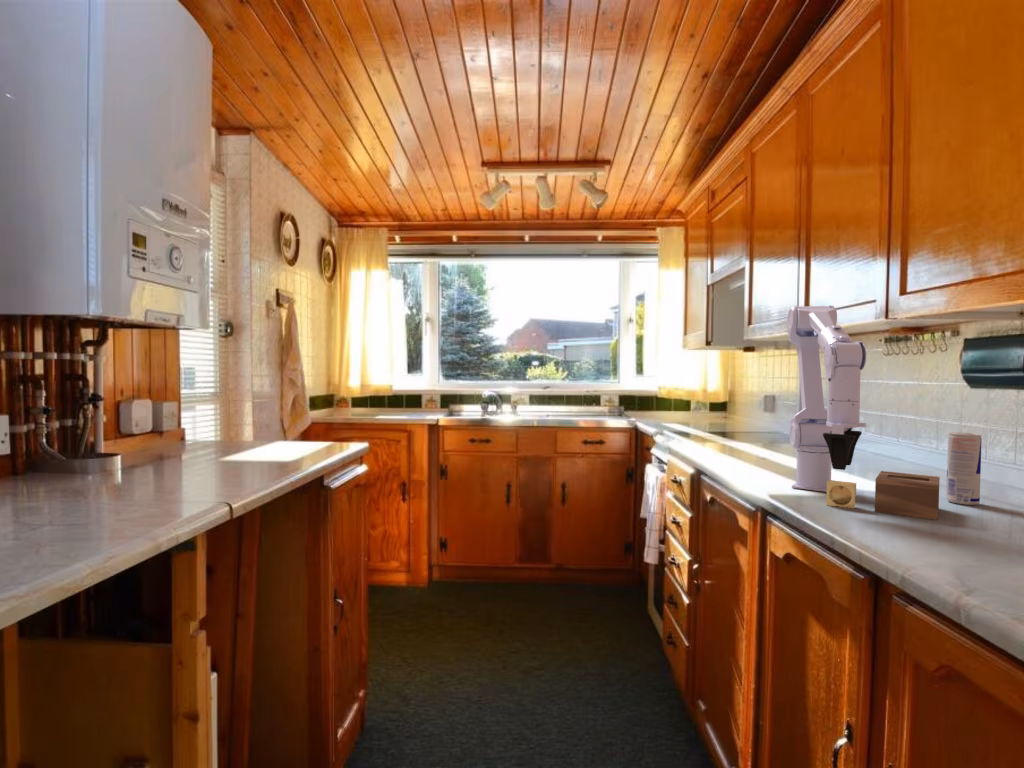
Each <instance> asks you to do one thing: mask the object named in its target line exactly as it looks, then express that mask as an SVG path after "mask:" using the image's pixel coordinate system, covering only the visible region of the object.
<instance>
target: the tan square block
mask: <svg viewBox="0 0 1024 768" xmlns="http://www.w3.org/2000/svg"><path fill="white" fill-rule="evenodd" d="M825 500H826V501H825V503H826V504H825V505H826V506H827V505H829V506H830V507H835V506H839V507H838V508H842V507H846V508H845V509H849V508H855V509H856V507H857V506H856V505H857V503H856V502H857V482H850V481H842V480H841V481H840V480H833V479H831V480H828V481H827V492H826V499H825ZM855 506H856V507H855ZM847 507H848V508H847Z"/></svg>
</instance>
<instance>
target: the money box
mask: <svg viewBox="0 0 1024 768" xmlns="http://www.w3.org/2000/svg"><path fill="white" fill-rule="evenodd" d="M940 477H941V476H938V475H928V474H927V475H925V474H916V473H907V472H906V473H903V472H895V471H886V470H884V471H883V470H880V472H879V474H878V475H877V476H876V477H875V485H874V486H875V487H874V488H875V489H874V492H875V493H874V512H875V511H876V513H882V512H883V513H884V514H889V513H892V514H891V515H896V514H898V515H897V516H904V515H906V516H905V517H911V516H912V517H913V518H920V519H928V520H933V521H938V520H939V512H940V511H939V505H940Z"/></svg>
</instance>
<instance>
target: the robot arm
mask: <svg viewBox="0 0 1024 768" xmlns="http://www.w3.org/2000/svg"><path fill="white" fill-rule="evenodd" d="M786 323H787V336H788V340H789V343H791V344H793V345H795V347H796V352H797V358H798V359H797V361H798V374H799V387H800V400H801V410H800V411H798V412H797V413H795V414H794V415H793V416H792V417H791V419H790V422H789V424H790V426H789V427H790V428H789V443H790V445H791V446H792V447H793V449H795V450H796V479H795V481H796V482H795V483H793V484H792V485H791V488H794V489H800V490H807V491H816V492H824V493H827V481H828V480H832V469H834V470H839V471H840V470H841V471H845V470H846V468H847V466H851V465H852V462H853V457H854V453H855V449H856V445H857V443H858V441H859V439H860V437H861V435H862V433H863V432H862V430H854V428H855V429H856V428H865V427H867V423H866V422H860V411H861V409H860V407H861V406H860V403H861V402H860V400H861V371H862V370H864V367H865V365H866V363H867V349H866V346H865V344H864V342H863V341H860V340H859V341H853V339H852V338H851V337H850V335H849V334H848V333H847V331H846V330H845V329H844V327H842V326H841V325H838V324H837V323H838V313H837V309H836V307H835V306H834V305H832V304H831V305H818V306H817V305H815V306H814V305H812V306H811V305H809V306H808V305H807V306H806V305H805V306H804V305H802V306H796V305H792V306H791V307H790V308H789V310H788V314H787V322H786ZM820 349H821V350H822V352H823V353H824V356H823V360H824V361H823V362H824V366H825V377H826V378H827V379H828V380H827V409H826V408H825V401H824V392H823V390H824V389H823V381H822V368H821V358H820V357H821V355H820Z"/></svg>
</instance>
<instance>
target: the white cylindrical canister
mask: <svg viewBox="0 0 1024 768" xmlns="http://www.w3.org/2000/svg"><path fill="white" fill-rule="evenodd" d="M947 434H948V437H947V459H946V461H947V462H946V463H947V464H946V492H945V493H946V494H945V495H946V496H945V497H946V499H945V500H947V501H949V502H951V503H952V504H957V505H962V506H963V505H964V506H976V505H979V504H980V502H981V501H980V500H981V470H982V469H981V468H982V467H981V466H982V434H979V433H973V432H961V431H959V432H958V431H957V432H956V431H952V432H949V431H948V433H947Z"/></svg>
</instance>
